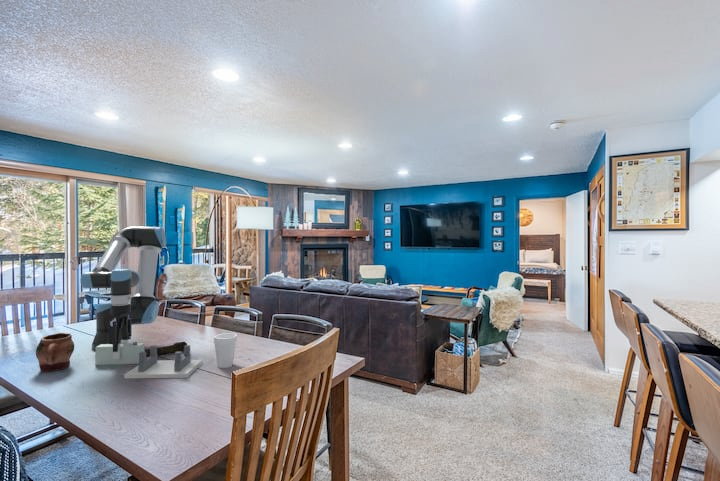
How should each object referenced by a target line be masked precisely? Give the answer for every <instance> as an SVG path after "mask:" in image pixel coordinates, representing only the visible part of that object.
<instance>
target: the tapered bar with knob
mask: <svg viewBox="0 0 720 481" xmlns="http://www.w3.org/2000/svg"><path fill="white" fill-rule="evenodd" d="M145 346H146V345H145V342H142V343H141V342H140V343H139V342H137V341H134V342H132V343H128V344H120V359H113V345H112V344H101V345H99V346H97V347H96V350H95V357H94V358H95V359H94V360H95V364H94V365H95V366H106V365H109V364H113V365H132V364H133V365H134V364H138V363H139V353H140V352H145Z"/></svg>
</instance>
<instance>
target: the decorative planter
mask: <svg viewBox="0 0 720 481" xmlns="http://www.w3.org/2000/svg"><path fill="white" fill-rule="evenodd" d="M72 336H73V335H72V334H71V333H70V332H69V333H67V332H66V333H65V332H58V333H54V334H48V335H45V336H44V337H42V338H40V340H39V343H38V345H37V347H36V349H35V356H36V359H37V361H38V366H39V370H40V371H41V372H42V373H48V372H56V371H60V370H63V369H66V368H67V367H69V366H70V365H71V360H70V359H71V356H72V355H73V353H74V351H75V342H74V341H73V339H72V338H73V337H72Z"/></svg>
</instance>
